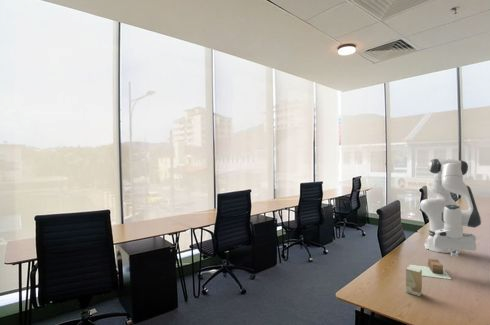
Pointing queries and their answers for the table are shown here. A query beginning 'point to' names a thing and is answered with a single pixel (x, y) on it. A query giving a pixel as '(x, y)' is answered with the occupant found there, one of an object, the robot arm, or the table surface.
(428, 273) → the mat
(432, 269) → the block
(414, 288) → the skincare box
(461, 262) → the table surface
